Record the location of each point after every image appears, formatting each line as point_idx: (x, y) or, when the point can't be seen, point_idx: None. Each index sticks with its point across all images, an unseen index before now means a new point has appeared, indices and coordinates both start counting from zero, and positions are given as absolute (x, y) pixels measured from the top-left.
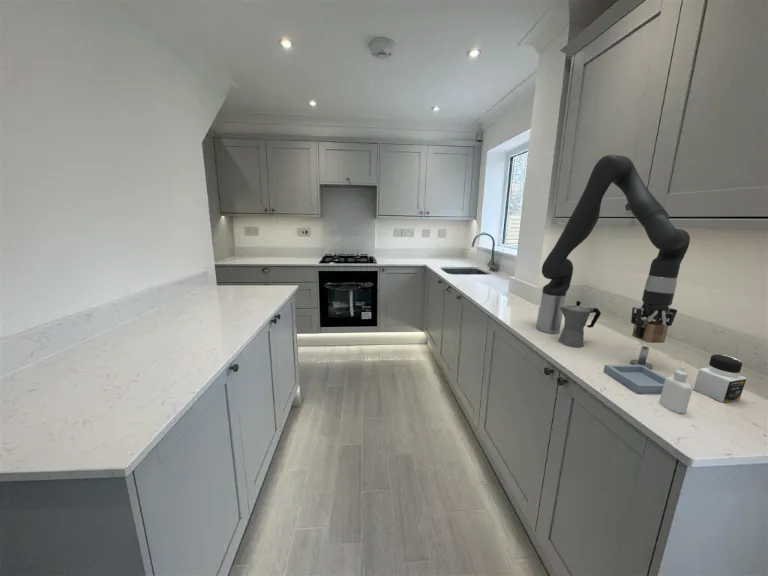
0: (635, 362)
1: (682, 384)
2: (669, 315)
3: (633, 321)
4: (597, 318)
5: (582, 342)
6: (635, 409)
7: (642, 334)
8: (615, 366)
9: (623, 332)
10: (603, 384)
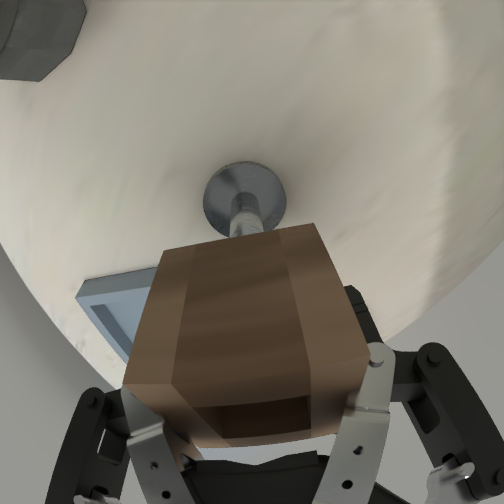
0: (221, 199)
1: None
2: (438, 457)
3: (90, 416)
4: None
5: (49, 56)
6: (122, 382)
7: None
8: (101, 303)
9: None
10: (81, 332)
